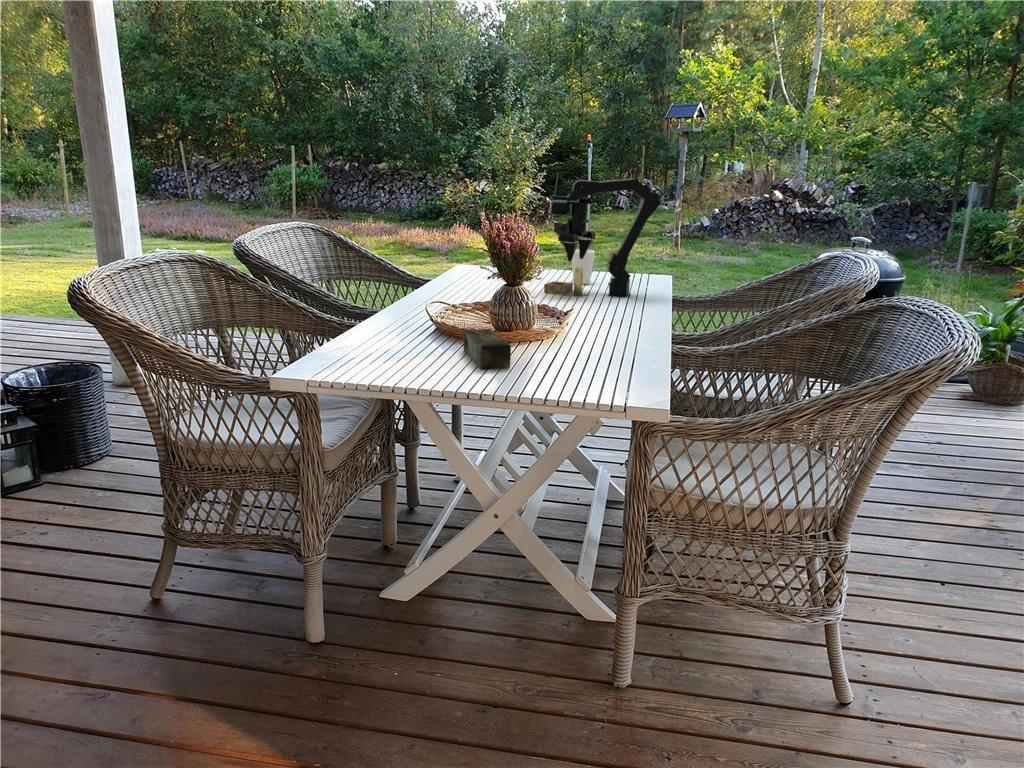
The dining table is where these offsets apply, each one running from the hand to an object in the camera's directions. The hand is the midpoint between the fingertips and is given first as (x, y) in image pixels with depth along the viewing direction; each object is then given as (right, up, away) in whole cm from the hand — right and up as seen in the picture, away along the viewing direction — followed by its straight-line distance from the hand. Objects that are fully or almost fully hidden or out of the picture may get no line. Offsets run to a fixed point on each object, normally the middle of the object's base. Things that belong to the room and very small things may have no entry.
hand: (575, 260), depth 272 cm
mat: (+1, -13, +3) cm, 13 cm away
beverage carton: (-30, -39, -80) cm, 94 cm away
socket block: (-6, -11, +8) cm, 15 cm away
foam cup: (+5, -5, +27) cm, 28 cm away
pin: (+1, -12, +2) cm, 13 cm away
